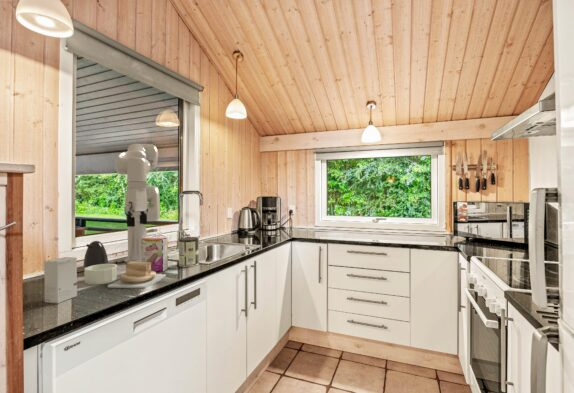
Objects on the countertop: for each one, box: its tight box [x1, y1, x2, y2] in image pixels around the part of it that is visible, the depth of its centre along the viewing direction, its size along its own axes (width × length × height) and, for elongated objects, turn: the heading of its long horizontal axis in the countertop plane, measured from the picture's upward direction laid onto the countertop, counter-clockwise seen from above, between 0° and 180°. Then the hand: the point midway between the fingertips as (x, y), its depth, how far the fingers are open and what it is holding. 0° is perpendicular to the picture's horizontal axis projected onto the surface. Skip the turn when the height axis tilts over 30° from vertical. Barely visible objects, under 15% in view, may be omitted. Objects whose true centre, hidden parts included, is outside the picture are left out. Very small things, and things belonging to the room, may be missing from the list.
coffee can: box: [178, 236, 200, 268], centre depth 164 cm, size 10×10×14 cm
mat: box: [107, 273, 167, 290], centre depth 134 cm, size 18×16×1 cm
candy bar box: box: [142, 236, 169, 273], centre depth 152 cm, size 11×5×16 cm, turn 84°
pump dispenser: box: [82, 240, 109, 269], centre depth 149 cm, size 10×10×15 cm
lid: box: [119, 262, 157, 283], centre depth 134 cm, size 14×14×7 cm
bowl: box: [84, 263, 118, 286], centre depth 135 cm, size 12×12×6 cm
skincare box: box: [43, 256, 78, 305], centre depth 112 cm, size 8×6×15 cm
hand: (137, 225), depth 134 cm, fingers open, 9 cm apart
